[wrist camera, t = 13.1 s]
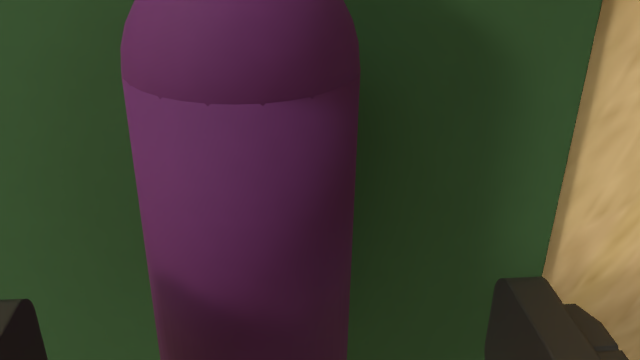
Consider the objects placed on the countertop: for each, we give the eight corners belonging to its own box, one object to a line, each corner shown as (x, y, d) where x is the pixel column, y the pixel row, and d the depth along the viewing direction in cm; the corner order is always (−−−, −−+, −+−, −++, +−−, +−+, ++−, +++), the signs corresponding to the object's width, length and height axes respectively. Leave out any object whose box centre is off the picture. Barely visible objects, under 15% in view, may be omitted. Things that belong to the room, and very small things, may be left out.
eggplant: (355, -149, 12) (391, -157, 8) (336, 357, 18) (351, 494, 14) (126, -153, 12) (47, -164, 8) (184, 360, 18) (156, 502, 14)
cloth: (645, -242, 12) (657, -245, 12) (506, 410, 20) (510, 420, 20) (-225, -271, 11) (-241, -276, 10) (4, 445, 19) (0, 456, 18)
